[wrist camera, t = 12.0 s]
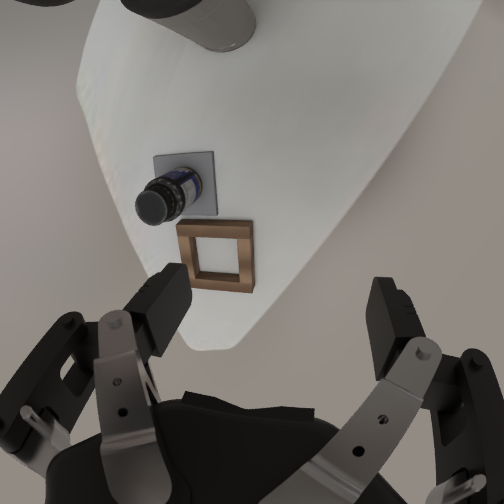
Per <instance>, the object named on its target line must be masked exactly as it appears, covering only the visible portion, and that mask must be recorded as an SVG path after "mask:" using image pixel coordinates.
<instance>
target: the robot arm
mask: <svg viewBox="0 0 504 504" xmlns="http://www.w3.org/2000/svg"><path fill="white" fill-rule="evenodd" d="M16 1H19V2H22V3H26V4H30V5H36V6H42V7H49V6H59V5H64V4H67V3H69V2H72V1H74V0H16ZM121 2H122V4H123V5H124V6H125V7H126V8H127V9H129V10H130V11H132V12H134V13H136V14H138V15H141V16H143V17H145V18H147V19H150V20H152V21H154V22H156V23H158V24H160V25H163V26H165V27H167V28H169V29H171V30H173V31H175V32H176V33H178V34H180V35H182V36H184V37H186V38H188V39H190V40H191V41H193V42H195V43H197V44H199V45H200V46H202V47H204V48H205V49H208V50H210V51H214V52H227V51H231V50H234V49H237V48H239V47H240V46H242V45H244V44H245V43H246V42H247V41H248V40H249V39H250V38H251V36H252V35H253V33H254V30H255V26H256V21H255V17H254V14H253V12H252V11H251V9H250V7H249V5H248V4H247V2H246V0H121ZM191 302H192V290H191V284H190V278H189V273H188V268H187V265H186V264H182V263H168V264H167V265H166V266H165V268H164V269H163V270H162V271H161V272H158V273H156V274H155V275H153V276H152V277H150V278H149V279H148V280H147V281H146V282H145V283H144V285H143V286H142V287H141V288H140V289H139V292H137V293H136V294H135V295H134V296H133V298H132V299H131V300H130V301H129V303H128V304H127V305H126V306H125V307H124V309H123V310H114V311H111V312H108V313H106V314H105V315H104V316H103V317H101V319H100V320H99V322H85V320H84V318H83V316H82V314H81V313H79V312H68V313H66V314H64V315H62V316H61V317H60V318H59V319H58V320H57V321H56V322H55V323H54V324H53V326H52V327H51V328H50V329H49V330H48V332H47V333H46V334H45V335H44V336H43V338H42V339H41V340H40V341H39V343H38V344H37V345H36V346H35V348H34V349H33V350H32V351H31V353H30V354H29V355H28V357H27V358H26V359H25V361H24V362H23V363H22V365H21V366H20V367H19V369H18V370H17V371H16V373H15V374H14V375H13V377H12V378H11V380H10V381H9V382H8V384H7V385H6V387H5V388H4V390H3V391H2V393H1V394H0V447H1V448H2V449H3V450H4V451H5V452H6V453H7V454H9V455H10V456H11V457H13V458H14V459H16V460H17V461H19V462H20V463H21V464H23V465H24V466H27V467H28V468H30V469H32V470H33V471H35V472H36V473H38V474H39V475H41V476H42V477H43V478H45V479H46V499H45V504H407V503H406V502H405V501H404V499H403V498H402V497H401V496H400V495H399V494H398V493H397V492H396V491H395V490H394V489H393V488H392V487H391V485H390V484H389V483H388V482H387V481H386V480H385V479H384V478H383V477H382V476H381V475H380V473H379V470H380V469H381V468H382V466H383V465H384V464H385V462H386V461H387V459H388V458H389V457H390V455H391V454H392V452H393V451H394V449H395V448H396V446H397V445H398V443H399V442H400V440H401V439H402V437H403V436H404V434H405V433H406V431H407V429H408V428H409V426H410V424H411V423H412V421H413V419H414V417H415V416H416V414H417V412H418V410H419V409H420V408H423V409H428V410H430V413H431V420H432V428H433V437H434V448H435V461H436V487H435V488H434V489H433V490H432V491H431V492H430V493H429V495H428V497H427V499H426V503H425V504H504V399H503V396H502V393H501V390H500V387H499V384H498V381H497V378H496V375H495V372H494V370H493V367H492V365H491V362H490V360H489V358H488V357H487V356H486V354H484V353H483V352H482V351H480V350H478V349H474V348H473V349H472V348H471V349H467V350H465V351H464V352H463V354H462V356H461V357H460V358H458V357H454V356H449V355H445V354H442V351H441V349H440V347H439V346H438V344H437V343H436V342H434V341H433V340H431V339H429V338H426V335H425V333H424V330H423V328H422V325H421V322H420V320H419V318H418V315H417V314H416V310H415V308H414V307H413V306H414V305H413V303H412V301H411V299H410V297H409V296H408V295H407V294H406V293H405V292H404V291H403V290H397V288H396V285H395V283H394V280H393V278H391V277H374V279H373V283H372V287H371V291H370V295H369V299H368V304H367V308H366V323H367V329H368V333H369V339H370V345H371V351H372V357H373V362H374V370H375V376H376V381H380V382H379V383H378V384H377V386H376V387H375V388H374V390H373V391H372V392H371V394H370V395H369V396H368V397H367V399H366V400H365V401H364V403H363V404H362V405H361V406H360V407H359V409H358V410H357V411H356V412H355V413H354V415H353V416H352V417H351V418H350V419H349V420H348V422H347V423H346V424H345V425H344V426H343V427H342V429H338V428H337V427H335V426H334V425H332V424H330V423H328V422H326V421H324V420H321V419H318V418H315V417H314V410H315V409H313V408H296V407H284V406H280V407H271V408H260V409H243V408H240V407H238V406H235V405H233V404H230V403H228V402H226V401H223V400H221V399H218V398H216V397H212V396H207V395H202V394H197V393H193V392H188V391H185V393H184V395H183V398H182V399H175V400H167V401H163V402H162V401H161V399H160V396H159V393H158V390H157V387H156V384H155V380H154V377H153V373H152V370H151V366H150V363H149V361H148V359H149V358H150V356H151V355H152V356H157V357H162V355H163V353H164V352H165V350H166V348H167V346H168V344H169V342H170V341H171V339H172V337H173V335H174V334H175V332H176V330H177V328H178V327H179V325H180V323H181V321H182V320H183V318H184V316H185V314H186V313H187V311H188V309H189V307H190V305H191ZM70 355H71V357H72V358H73V360H74V361H75V362H74V364H73V365H72V367H71V368H70V370H69V371H68V373H67V374H66V376H65V377H64V379H63V380H62V379H61V377H60V370H61V368H62V366H63V365H64V363H65V362H66V360H67V359H68V357H69V356H70ZM94 388H95V389H96V399H97V408H98V415H99V422H100V428H101V433H99V434H96V435H95V436H93V437H90V438H88V439H86V440H84V441H82V442H79V443H77V444H75V445H73V446H71V444H70V435H69V434H70V433H71V431H72V429H73V427H74V425H75V423H76V421H77V419H78V417H79V415H80V414H81V412H82V410H83V408H84V406H85V404H86V402H87V401H88V399H89V397H90V396H91V394H92V392H93V390H94Z"/></svg>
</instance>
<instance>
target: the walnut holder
mask: <svg viewBox="0 0 504 504" xmlns="http://www.w3.org/2000/svg"><path fill="white" fill-rule="evenodd" d="M176 230H177V237H178V243H179V249H180V255H181V261H182V264H186V265H187V268H188V273H189V278H190V284H191V288H199V289H209V290H220V291H231V292H242V293H253V289H254V286H255V276H254V248H253V221H241V220H202V219H181V220H180V221H179V222H178V223H177V224H176ZM195 237H209V238H232V239H237V247H238V262H239V274H228V273H215V272H202V271H200V269H199V262H198V255H197V248H196V241H195Z"/></svg>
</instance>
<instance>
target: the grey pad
mask: <svg viewBox="0 0 504 504" xmlns="http://www.w3.org/2000/svg"><path fill="white" fill-rule="evenodd" d="M153 162H154V171H155V178H157V177H159V176H161V175H163V174H165V173H167V172H169V171H172V170H174V169H176V168H178V167H187V168H190V169H192V170H194V171H195V172H196V173H197V174H198V175H199V177H200V179H201V181H202V192H201V195H200V197H199V198H198V199H197V200H196V201H195V202H194V203H193V204H192V205H190V206H189V207H188V208H187V209H186V210H185V211H184V212H183V213H181V214H180V215H202V216H217V215H218V207H217V194H216V181H215V168H214V153H213V152H197V153H184V154H172V155H162V156H154V157H153Z"/></svg>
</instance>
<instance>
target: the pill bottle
mask: <svg viewBox="0 0 504 504" xmlns="http://www.w3.org/2000/svg"><path fill="white" fill-rule="evenodd" d="M201 192H202V181H201V179H200V177H199V175H198V174H197V173H196V172H195V171H194V170H192V169H190V168H187V167H178V168H176V169H174V170H172V171H169V172H167V173H165V174H163V175H161V176H159V177H157V178H155V179H153V180H152V181H150V182H149V183H148V184H147V185H146V187H145V189H144V191H143V192H141V193H140V194H139V195H138V197H137V199H136V202H135V208H136V212H137V215H138V216H139V218H140V219H141V220H142V221H143V222H144V223H146V224H148V225H151V226H156V225H160V224H161V223H163V222H169V221H172V220H174V219H176V218H177V217H178V216H179V215H180V214H181V213H183V212H184V211H185V210H186V209H187V208H188V207H189V206H190V205H192V204H193V203H194V202H195V201H196V200H197V199H198V198H199V197H200V195H201Z"/></svg>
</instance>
